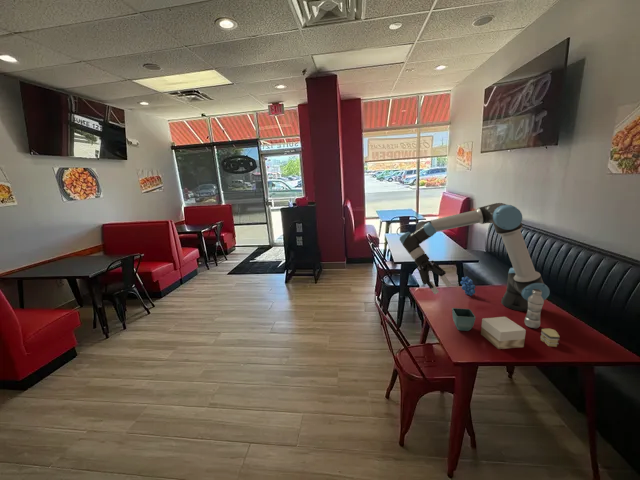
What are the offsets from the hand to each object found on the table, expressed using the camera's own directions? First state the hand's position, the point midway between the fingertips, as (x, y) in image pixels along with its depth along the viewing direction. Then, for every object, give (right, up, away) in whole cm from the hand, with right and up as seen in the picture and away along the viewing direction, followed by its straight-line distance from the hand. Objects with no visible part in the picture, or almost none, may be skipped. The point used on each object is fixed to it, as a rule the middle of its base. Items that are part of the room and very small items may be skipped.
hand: (443, 289), depth 142 cm
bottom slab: (+20, -22, -16) cm, 33 cm away
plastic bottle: (+42, -18, -6) cm, 46 cm away
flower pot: (+7, -19, -5) cm, 21 cm away
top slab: (+20, -17, -17) cm, 31 cm away
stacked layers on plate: (+40, -21, -19) cm, 49 cm away
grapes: (+30, -10, +33) cm, 45 cm away
